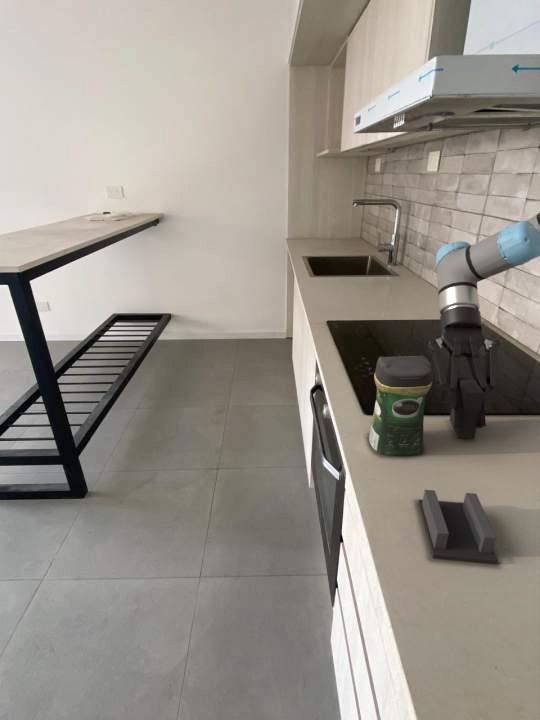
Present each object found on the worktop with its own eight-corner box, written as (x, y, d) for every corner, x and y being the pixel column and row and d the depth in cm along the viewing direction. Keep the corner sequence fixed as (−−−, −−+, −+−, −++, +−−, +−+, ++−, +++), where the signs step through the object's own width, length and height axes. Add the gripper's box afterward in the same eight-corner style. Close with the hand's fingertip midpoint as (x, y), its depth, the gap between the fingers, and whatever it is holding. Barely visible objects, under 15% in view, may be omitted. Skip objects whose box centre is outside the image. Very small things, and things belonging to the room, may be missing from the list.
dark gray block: (464, 420, 81) (473, 377, 77) (474, 438, 76) (484, 393, 71) (449, 420, 81) (457, 377, 77) (457, 437, 76) (466, 392, 72)
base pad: (470, 509, 61) (476, 488, 60) (494, 566, 52) (502, 544, 51) (417, 504, 62) (421, 484, 61) (432, 560, 54) (436, 538, 52)
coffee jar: (412, 432, 80) (425, 348, 72) (426, 458, 72) (442, 367, 64) (364, 433, 80) (372, 349, 72) (373, 459, 73) (383, 369, 65)
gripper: (493, 321, 84) (507, 431, 76) (415, 320, 86) (421, 427, 78) (509, 304, 77) (526, 424, 69) (423, 304, 79) (430, 420, 71)
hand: (470, 425), depth 74 cm, fingers closed on dark gray block, 3 cm apart
